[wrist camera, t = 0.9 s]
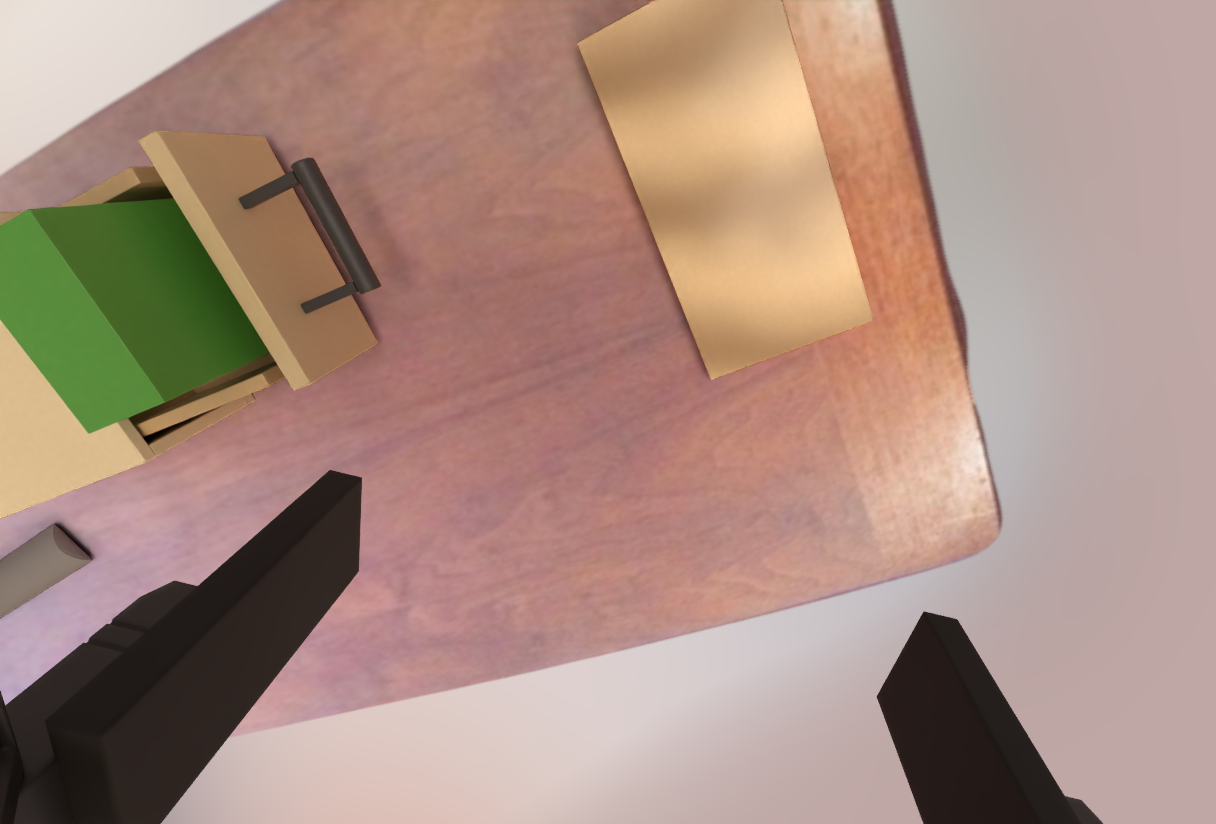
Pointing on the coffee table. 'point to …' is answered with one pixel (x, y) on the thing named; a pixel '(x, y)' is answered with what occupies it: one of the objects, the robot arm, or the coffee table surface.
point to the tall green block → (119, 306)
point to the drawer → (256, 258)
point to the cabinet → (67, 434)
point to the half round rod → (37, 567)
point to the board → (730, 174)
